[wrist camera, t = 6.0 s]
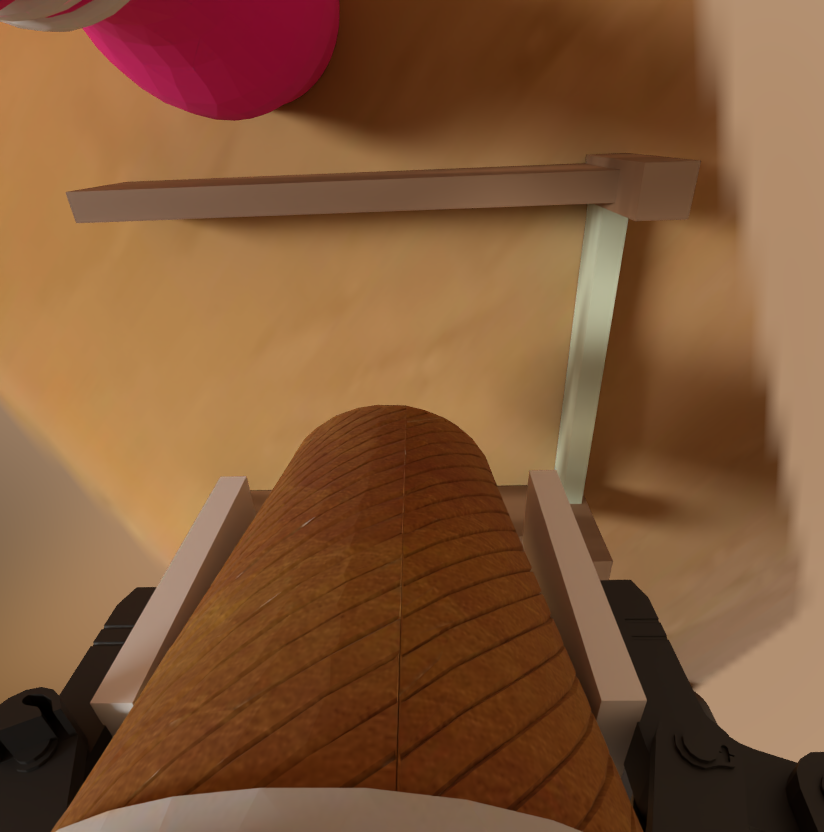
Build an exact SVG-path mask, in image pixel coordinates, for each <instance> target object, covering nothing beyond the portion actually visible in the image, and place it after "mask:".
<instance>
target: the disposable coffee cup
mask: <svg viewBox="0 0 824 832" xmlns="http://www.w3.org/2000/svg"><path fill="white" fill-rule="evenodd" d="M523 550H524V549H523V546H522V543H521V541H520V539H519V537H518V534H517V533H516V530H515V527H514V525H513V523H512V520H511V518H510V516H509V513H508V511H507V508H506V506H505V504H504V501H503V499H502V496H501V494H500V492H499V489H498V487H497V485H496V482H495V480H494V477H493V475H492V472H491V469H490V467H489V464H488V462H487V459H486V457H485V455H484V454H483V453H482V451H481V450H480V449H479V447H478V446H477V445H476V443H475V442H474V441H473V439H472V438H471V437H470V436H468V435H467V434H466V433H465V432H464V431H463V430H461V429H460V428H459V427H458V426H457V425H455V424H453V423H452V422H450V421H448V420H447V419H445V418H443V417H441V416H438V415H436V414H433V413H430V412H428V411H425V410H422V409H418V408H413V407H409V406H400V405H374V406H368V407H361V408H356V409H354V410H351V411H348V412H345V413H342V414H339V415H336V416H335V417H333V418H332V419H330V420H328V421H327V422H325V423H324V424H322V425H321V426H319V427H317V428H316V429H315V430H314V431H313V432H312V433H311V434H310V435H308V436H307V437H306V438H305V440H304V441H303V443H302V444H301V446H300V447H299V448H298V450H297V451H296V453H295V455H294V457H293V459H292V460H291V462H290V463H289V465H288V466H287V468H286V469H285V471H284V473H283V474H282V476H281V477H280V479H279V481H278V482H277V484H276V485H275V487H274V488H273V490H272V491H271V493H270V494H269V496H268V498H267V499H266V501H265V502H264V504H263V505H262V507H261V508H260V510H259V512H258V513H257V515H256V516H255V518H254V519H253V521H252V522H251V524H250V525H249V527H248V528H247V530H246V531H245V533H244V534H243V536H242V538H241V539H240V541H239V542H238V544H237V545H236V547H235V548H234V550H233V552H232V553H231V555H230V556H229V558H228V559H227V561H226V562H225V564H224V566H223V567H222V569H221V570H220V572H219V573H218V575H217V576H216V578H215V579H214V581H213V583H212V584H211V586H210V588H209V589H208V591H207V592H206V594H205V595H204V597H203V598H202V600H201V601H200V603H199V605H198V606H197V608H196V609H195V611H194V612H193V614H192V615H191V617H190V619H189V620H188V622H187V623H186V625H185V626H184V628H183V629H182V631H181V632H180V634H179V636H178V637H177V639H176V640H175V642H174V643H173V644H172V646H171V647H170V648H169V650H168V651H167V653H166V654H165V656H164V657H163V659H162V661H161V662H160V664H159V665H158V667H157V669H156V670H155V672H154V673H153V675H152V677H151V678H150V680H149V681H148V683H147V685H146V686H145V688H144V689H143V691H142V693H141V694H140V696H139V698H138V699H137V701H136V702H135V704H134V706H133V707H132V709H131V710H130V712H129V713H128V715H127V716H126V718H125V720H124V721H123V723H122V724H121V726H120V727H119V729H118V730H117V732H116V734H115V735H114V737H113V738H112V740H111V741H110V743H109V744H108V746H107V748H106V749H105V751H104V752H103V754H102V755H101V757H100V758H99V760H98V762H97V763H96V765H95V766H94V768H93V769H92V771H91V772H90V774H89V775H88V777H87V779H86V780H85V782H84V783H83V785H82V786H81V788H80V789H79V791H78V793H77V794H76V796H75V797H74V799H73V801H72V802H71V804H70V805H69V807H68V808H67V810H66V811H65V812H64V814H63V815H62V816H61V818H60V819H59V821H58V822H57V823H56V825H55V826H54V828H53V829H52V831H51V832H643V830H642V827H641V825H640V823H639V820H638V818H637V816H636V814H635V811H634V809H633V807H632V805H631V803H630V800H629V798H628V795H627V793H626V790H625V788H624V785H623V783H622V780H621V778H620V775H619V773H618V771H617V768H616V766H615V764H614V762H613V759H612V757H611V756H610V754H609V750H608V747H607V745H606V742H605V740H604V737H603V735H602V733H601V730H600V728H599V726H598V724H597V721H596V719H595V717H594V715H593V713H592V712H591V707H590V705H589V702H588V699H587V697H586V695H585V693H584V690H583V688H582V686H581V684H580V681H579V679H578V678H577V677H576V672H575V669H574V666H573V664H572V662H571V659H570V657H569V655H568V653H567V650H566V648H565V647H564V646H563V641H562V638H561V635H560V633H559V631H558V629H557V627H556V624H555V622H554V620H553V619H552V618H551V617H550V614H551V612H550V610H549V608H548V605H547V603H546V601H545V598H544V596H543V594H540V592H541V588H540V586H539V584H538V581H537V579H536V577H535V575H534V572H530V570H531V569H532V567H531V564H530V562H529V560H528V558H527V556H526V553H525V551H523Z"/></svg>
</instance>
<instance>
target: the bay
mask: <svg viewBox="0 0 824 832" xmlns="http://www.w3.org/2000/svg"><path fill="white" fill-rule="evenodd" d="M700 163H701V161H700V160H690V159H680V158H670V157H660V156H650V155H640V154H630V153H620V154H596V155H586V163H582V164H557V165H533V166H508V167H484V168H459V169H434V170H410V171H385V172H361V173H336V174H311V175H287V176H262V177H238V178H213V179H189V180H164V181H139V182H123V183H117V184H111V185H105V186H99V187H93V188H87V189H81V190H75V191H69V192H66V195H67V198H68V201H69V204H70V207H71V209H72V212H73V215H74V218H75V221H76V223H93V222H120V221H146V220H172V219H199V218H225V217H251V216H278V215H304V214H330V213H357V212H383V211H409V210H436V209H462V208H488V207H515V206H541V205H567V204H588V207H587V215H586V223H585V231H584V239H583V247H582V255H581V263H580V271H579V279H578V287H577V295H576V303H575V311H574V319H573V327H572V335H571V343H570V351H569V358H568V366H567V374H566V382H565V390H564V398H563V406H562V414H561V422H560V430H559V438H558V446H557V454H556V462H555V470H557V473H558V475H559V478H560V481H561V483H562V486H563V488H564V491H565V493H566V496H567V498H568V501H569V503H570V506H571V509H572V511H573V514H574V516H575V519H576V521H577V524H578V526H579V529H580V531H581V534H582V536H583V539H584V542H585V544H586V547H587V549H588V552H589V554H590V557H591V559H592V562H593V564H594V567H595V569H596V572H597V575H598V577H599V580H609V577H610V573H611V568H612V563H613V560H612V558H611V556H610V553H609V551H608V549H607V547H606V544H605V542H604V540H603V538H602V535H601V533H600V531H599V529H598V526H597V524H596V522H595V520H594V518H593V515H592V513H591V511H590V509H589V506H588V504H587V502H586V500H585V497H584V495H583V491H584V485H585V479H586V473H587V467H588V461H589V455H590V449H591V443H592V437H593V431H594V425H595V418H596V412H597V406H598V400H599V394H600V388H601V382H602V376H603V370H604V364H605V358H606V352H607V346H608V339H609V333H610V327H611V321H612V315H613V309H614V303H615V297H616V291H617V285H618V279H619V273H620V267H621V260H622V254H623V248H624V242H625V236H626V230H627V224H628V218H629V219H631V220H634V221H654V220H681V219H688V218H689V213H690V209H691V204H692V200H693V195H694V191H695V186H696V182H697V177H698V173H699V168H700ZM497 487H498V489H499V492H500V494H501V496H502V499H503V501H504V504H505V506H506V508H507V511H508V513H509V516H510V518H511V520H512V523H513V525H514V527H515V530H516V533H517V534H518V537H519V539H520V541H521V543H522V541H523V531H524V520H525V510H526V500H527V489H528V486H497ZM271 491H272V490H270V491H250V493H251V497H252V501H253V505H254V509H255V513H256V515H257V513H258V512H259V510H260V508H261V507H262V505H263V504H264V502H265V501H266V499H267V498H268V496H269V494H270V493H271ZM522 546H523V543H522ZM523 549H524V547H523ZM523 551H524V550H523Z"/></svg>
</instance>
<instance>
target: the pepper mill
mask: <svg viewBox="0 0 824 832" xmlns="http://www.w3.org/2000/svg"><path fill="white" fill-rule="evenodd" d="M0 21H1V22H4V23H7V24H9V25H12V26H15V27H18V28H22V29H30V30H37V31H51V32H66V31H73V30H77V29H80V28H83V30H84V31H85V32H86V34H87V35H88V36H89V38H90V39H91V40H92V42H93V43H94V44H95V46H96V47H97V48H98V49H99V50H100V51H101V52H102V53H103V55H104V56H105V57H106V58H107V59H108V60H109V61H110V62H111V63H112V64H114V65H115V66H116V67H117V68H118V69H119V70H120V71H122V72H123V73H124V74H125V75H126V76H127V77H129V78H130V79H131V80H132V81H133V82H135V83H136V84H137V85H138V86H139V87H141V88H142V89H144V90H145V91H147V92H148V93H150V94H152V95H153V96H155V97H157V98H158V99H160V100H162V101H163V102H165V103H167V104H170V105H172V106H175V107H177V108H180V109H183V110H185V111H188V112H190V113H193V114H196V115H200V116H204V117H208V118H212V119H217V120H234V121H235V120H243V119H251V118H254V117H257V116H260V115H264V114H267V113H269V112H271V111H273V110H275V109H277V108H279V107H280V106H282V105H283V104H286V103H290V102H292V101H293V100H295V99H297V98H299V97H300V96H302V95H303V94H305V93H306V92H307V91H308V90H309V89H310V88H311V87H312V86H313V85H314V84H315V83H316V82H317V81H318V80H319V78H320V77H321V76H322V74H323V72H324V71H325V69H326V67H327V66H328V63H329V61H330V59H331V56H332V54H333V51H334V47H335V44H336V40H337V34H338V29H339V0H0Z"/></svg>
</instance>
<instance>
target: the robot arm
mask: <svg viewBox="0 0 824 832" xmlns="http://www.w3.org/2000/svg"><path fill="white" fill-rule="evenodd" d="M255 516H256V513H255V509H254V505H253V501H252V497H251V493H250V489H249V485H248V481H247V477H246V476H239V477H220V479H219V480H218V482H217V484H216V485H215V487H214V489H213V491H212V492H211V494H210V496H209V498H208V499H207V501H206V503H205V505H204V506H203V508H202V510H201V511H200V513H199V515H198V517H197V518H196V520H195V522H194V524H193V525H192V527H191V529H190V531H189V532H188V534H187V536H186V537H185V539H184V541H183V543H182V544H181V546H180V548H179V550H178V551H177V553H176V555H175V557H174V558H173V560H172V562H171V563H170V565H169V567H168V569H167V570H166V572H165V574H164V576H163V577H162V579H161V581H160V582H159V585H158V586H157V587H138V588H136V589H134V590H133V591H132V592H131V593H130V594H129V595H128V596H127V597H126V598H124V599H123V600H122V601H121V602H120V603H119V604H118V605H117V606H116V608H115V609H114V611H113V612H112V614H111V615H110V617H109V619H108V620H107V622H106V623H105V625H104V629H102V630H101V631H100V633H99V634H98V636H97V638H96V639H95V640H94V645H93V646H91V647H90V648H89V650H88V651H87V653H86V655H85V656H84V658H83V659H82V661H81V662H80V664H79V666H78V667H77V669H76V670H75V672H74V673H73V675H72V676H71V678H70V680H69V681H68V683H67V684H66V686H65V688H64V689H63V691H62V692H61V694H60V695H58V694H57V693H56V692H55V691H54V690H53V689H48V688H43V687H39V688H34V689H30V690H25V691H23V692H21V693H19V694H17V695H14V696H12V697H10V698H8V699H7V700H6V701H4V702H3V703H2V704H0V832H51V831H52V829H53V828H54V826H55V825H56V823H57V822H58V821H59V819H60V818H61V816H62V815H63V814H64V812H65V811H66V810H67V808H68V807H69V805H70V804H71V802H72V801H73V799H74V797H75V796H76V794H77V793H78V791H79V789H80V788H81V786H82V785H83V783H84V782H85V780H86V779H87V777H88V775H89V774H90V772H91V771H92V769H93V768H94V766H95V765H96V763H97V762H98V760H99V758H100V757H101V755H102V754H103V752H104V751H105V749H106V748H107V746H108V744H109V743H110V741H111V740H112V738H113V737H114V735H115V734H116V732H117V730H118V729H119V727H120V726H121V724H122V723H123V721H124V720H125V718H126V716H127V715H128V713H129V712H130V710H131V709H132V707H133V706H134V704H135V702H136V701H137V699H138V698H139V696H140V694H141V693H142V691H143V689H144V688H145V686H146V685H147V683H148V681H149V680H150V678H151V677H152V675H153V673H154V672H155V670H156V669H157V667H158V665H159V664H160V662H161V661H162V659H163V657H164V656H165V654H166V653H167V651H168V650H169V648H170V647H171V646H172V644H173V643H174V642H175V640H176V639H177V637H178V636H179V634H180V632H181V631H182V629H183V628H184V626H185V625H186V623H187V622H188V620H189V619H190V617H191V615H192V614H193V612H194V611H195V609H196V608H197V606H198V605H199V603H200V601H201V600H202V598H203V597H204V595H205V594H206V592H207V591H208V589H209V588H210V586H211V584H212V583H213V581H214V579H215V578H216V576H217V575H218V573H219V572H220V570H221V569H222V567H223V566H224V564H225V562H226V561H227V559H228V558H229V556H230V555H231V553H232V552H233V550H234V548H235V547H236V545H237V544H238V542H239V541H240V539H241V538H242V536H243V534H244V533H245V531H246V530H247V528H248V527H249V525H250V524H251V522H252V521H253V519H254V518H255ZM522 543H523V547H524V551H525V553H526V556H527V558H528V560H529V562H530V564H531V567H532V569H531V570H530V572H534V575H535V577H536V579H537V581H538V584H539V586H540V588H541V592H540V594H543V596H544V598H545V601H546V603H547V605H548V608H549V610H550V612H551V614H550V617H551V618H552V619H553V620H554V622H555V624H556V627H557V629H558V631H559V633H560V635H561V638H562V641H563V646H564V647H565V648H566V650H567V653H568V655H569V657H570V659H571V662H572V664H573V666H574V669H575V672H576V677H577V678H578V679H579V681H580V684H581V686H582V688H583V690H584V693H585V695H586V697H587V699H588V702H589V705H590V707H591V712H592V713H593V715H594V717H595V719H596V721H597V724H598V726H599V728H600V730H601V733H602V735H603V737H604V740H605V742H606V745H607V747H608V750H609V754H610V756H611V757H612V759H613V762H614V764H615V766H616V768H617V771H618V773H619V775H620V778H621V780H622V783H623V785H624V788H625V790H626V793H627V795H628V798H629V800H630V803H631V805H632V807H633V809H634V811H635V814H636V816H637V818H638V820H639V823H640V825H641V827H642V830H643V832H824V752H811V753H809V754H807V755H806V756H804V757H803V758H801V759H800V760H799V762H798V763H796V762H793V761H790V760H786V759H783V758H780V757H777V756H774V755H770V754H767V753H764V752H761V751H758V750H755V749H752V748H750V747H747V746H745V745H743V744H740V743H738V742H737V741H735V740H734V739H732V738H731V737H729V735H728V734H727V733H726V732H725V731H724V730H723V729H721V728H720V727H719V726H718V725H717V723H716V721H715V719H714V717H713V715H712V712H711V711H710V709H709V706H708V705H707V703H706V702H705V701H704V699H703V698H701V697H700V696H699V695H698V694H697V693H696V692H694V691H693V689H692V687H691V685H690V683H689V681H688V679H687V677H686V675H685V673H684V671H683V668H682V666H681V664H680V662H679V660H678V658H677V656H676V654H675V652H674V650H673V648H672V646H671V644H670V642H669V640H667V637H666V636H667V635H666V633H665V631H664V629H663V627H662V625H661V623H659V621H658V617H657V615H656V613H655V610H654V608H653V606H652V604H651V602H650V600H649V598H648V597H647V596H646V595H645V594H644V593H643V592H642V591H641V590H640V589H639V588H638V587H637V586H636V585H635V584H634V583H633V582H632V581H631V580H599V577H598V575H597V572H596V569H595V567H594V564H593V562H592V559H591V557H590V554H589V552H588V549H587V547H586V544H585V542H584V539H583V536H582V534H581V531H580V529H579V526H578V524H577V521H576V519H575V516H574V514H573V511H572V509H571V506H570V503H569V501H568V498H567V496H566V493H565V491H564V488H563V486H562V483H561V481H560V478H559V475H558V473H557V470H532V471H529V479H528V489H527V500H526V510H525V520H524V531H523V541H522Z"/></svg>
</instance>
